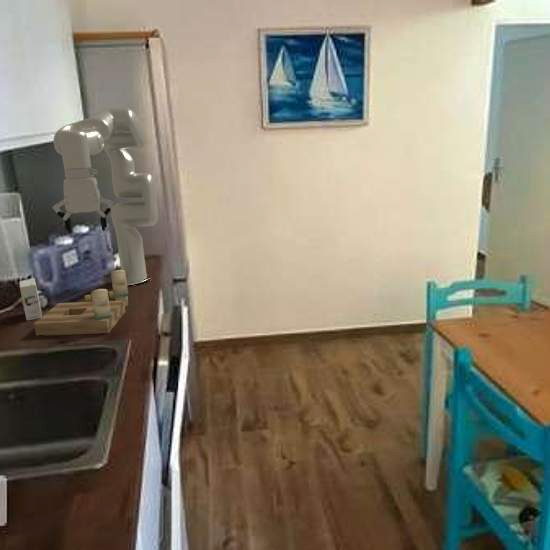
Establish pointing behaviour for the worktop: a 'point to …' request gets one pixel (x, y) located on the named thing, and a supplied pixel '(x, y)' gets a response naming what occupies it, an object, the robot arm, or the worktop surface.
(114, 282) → the peg
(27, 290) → the ink box
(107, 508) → the worktop surface
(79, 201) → the robot arm
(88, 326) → the board
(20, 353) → the worktop surface
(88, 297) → the gavel
